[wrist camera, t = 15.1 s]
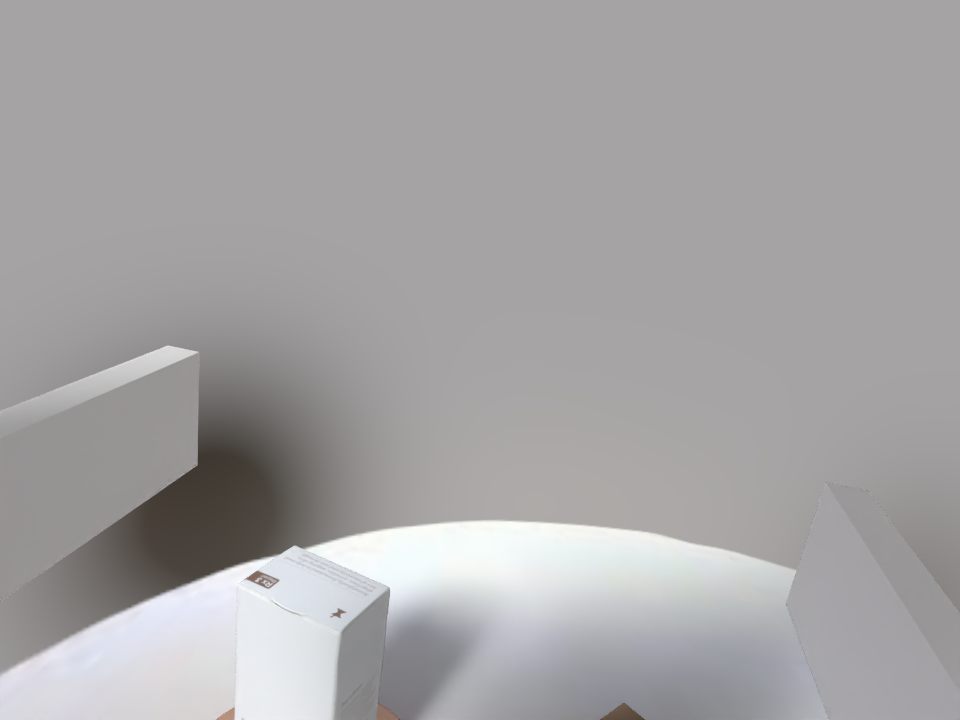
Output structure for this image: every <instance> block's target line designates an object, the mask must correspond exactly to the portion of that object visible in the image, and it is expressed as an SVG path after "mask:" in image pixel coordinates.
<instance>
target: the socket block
mask: <svg viewBox="0 0 960 720" xmlns="http://www.w3.org/2000/svg"><path fill="white" fill-rule="evenodd" d="M600 720H644V719H643V718H642V717H641V716H640V715H638V714H637V713H636V712H635V711H634V710H632V709H631V708H630V707H629V706H627V705H626V704H625V703H623V704H622V705H620V706H619V707H617V708H616V709H615V710H613V711H612V712H610V713H609V714H608V715H606V716H605V717H603V718H602V719H600Z"/></svg>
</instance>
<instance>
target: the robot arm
mask: <svg viewBox="0 0 960 720" xmlns="http://www.w3.org/2000/svg"><path fill="white" fill-rule="evenodd" d="M198 396H199V352H196V351H191V350H186V349H182V348H176V347H172V346H166V347H163V348H161V349H158V350H156V351H153V352H151V353H148V354H145V355H143V356H140V357H137V358H135V359H132V360H130V361H127V362H125V363H122V364H120V365H117V366H114V367H112V368H109V369H107V370H104V371H101V372H99V373H96V374H94V375H91V376H88V377H86V378H83V379H81V380H78V381H76V382H73V383H70V384H68V385H66V386H63V387H60V388H58V389H55V390H53V391H50V392H48V393H45V394H42V395H40V396H37V397H35V398H32V399H29V400H27V401H24V402H22V403H19V404H17V405H14V406H11V407H9V408H7V409H4V410H1V411H0V602H1V601H2V600H4V599H5V598H7V597H8V596H10V595H11V594H13V593H14V592H15V591H17V590H18V589H20V588H21V587H23V586H24V585H25V584H27V583H28V582H30V581H31V580H33V579H34V578H36V577H37V576H38V575H40V574H41V573H43V572H44V571H46V570H47V569H49V568H50V567H51V566H52V565H54V564H56V563H57V562H59V561H60V560H61V559H63V558H64V557H66V556H67V555H69V554H70V553H71V552H73V551H74V550H76V549H77V548H79V547H80V546H82V545H83V544H84V543H86V542H87V541H89V540H90V539H92V538H93V537H95V536H96V535H97V534H99V533H100V532H102V531H103V530H105V529H106V528H108V527H109V526H110V525H112V524H113V523H115V522H116V521H117V520H119V519H120V518H122V517H123V516H125V515H126V514H128V513H129V512H131V511H132V510H133V509H135V508H136V507H137V506H139V505H140V504H142V503H144V502H145V501H146V500H148V499H149V498H151V497H152V496H154V495H155V494H156V493H158V492H159V491H161V490H162V489H164V488H165V487H166V486H168V485H169V484H171V483H172V482H174V481H175V480H177V479H178V478H180V477H181V476H182V475H184V474H185V473H187V472H188V471H190V470H191V469H192V468H194V467H195V466H197V452H198ZM786 605H787V607H788V610H789V613H790V615H791V618H792V621H793V624H794V626H795V629H796V632H797V634H798V637H799V640H800V643H801V645H802V648H803V651H804V653H805V656H806V659H807V661H808V664H809V667H810V670H811V672H812V675H813V678H814V680H815V683H816V686H817V689H818V691H819V694H820V697H821V699H822V702H823V705H824V707H825V710H826V713H827V716H828V718H829V720H960V612H959V611H958V610H957V608H956V607H955V606H954V604H953V603H952V602H951V600H950V599H949V598H948V596H947V595H946V594H945V592H944V591H943V590H942V588H941V587H940V586H939V585H938V583H937V582H936V580H935V579H934V578H933V576H932V575H931V574H930V573H929V571H928V570H927V568H926V567H925V566H924V565H923V564H922V562H921V561H920V559H919V558H918V557H917V555H916V554H915V553H914V551H913V550H912V549H911V547H910V546H909V545H908V543H907V542H906V541H905V539H904V538H903V537H902V535H901V534H900V533H899V531H898V530H897V529H896V527H895V526H894V525H893V523H892V522H891V521H890V519H889V518H888V517H887V515H886V514H885V513H884V511H883V510H882V509H881V507H880V506H879V505H878V503H877V502H876V501H875V499H874V498H873V497H872V496H871V494H870V493H869V491H867V490H862V489H857V488H852V487H848V486H843V485H838V484H833V483H828V482H825V485H824V488H823V491H822V494H821V497H820V500H819V503H818V507H817V510H816V513H815V516H814V519H813V522H812V525H811V528H810V532H809V534H808V538H807V541H806V544H805V547H804V550H803V553H802V556H801V559H800V562H799V565H798V569H797V572H796V575H795V578H794V581H793V584H792V587H791V590H790V593H789V596H788V600H787V603H786Z"/></svg>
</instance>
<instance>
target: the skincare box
mask: <svg viewBox="0 0 960 720" xmlns="http://www.w3.org/2000/svg"><path fill="white" fill-rule="evenodd" d="M389 597H390V588H389V587H387V586H385V585H383V584H380V583H378V582H376V581H374V580H371V579H369V578H367V577H365V576H362V575H360V574H358V573H356V572H353V571H351V570H349V569H346V568H344V567H342V566H340V565H337V564H335V563H333V562H331V561H328V560H326V559H324V558H322V557H319V556H317V555H315V554H313V553H310V552H308V551H306V550H304V549H301V548H299V547H297V546H293V547H291V548H290V549H289V550H287V551H285V552H284V553H282V554H281V555H279V556H278V557H276V558H275V559H273V560H272V561H270V562H269V563H268V564H266V565H265V566H263V567H262V568H260V569H259V570H257V571H256V572H255V573H253V574H252V575H250V576H249V577H248V578H246V579H244V580H243V581H241V582H240V583H239V584H238V586H237V628H236V672H235V716H234V720H376V718H377V709H378V699H379V690H380V680H381V671H382V662H383V653H384V643H385V634H386V621H387V614H388V606H389Z"/></svg>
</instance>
